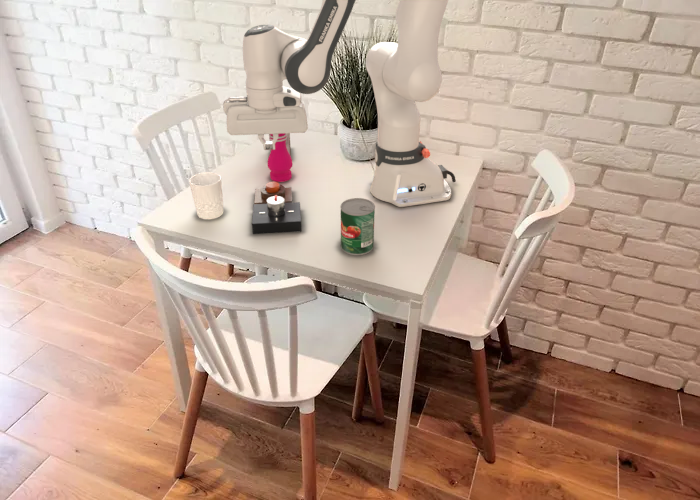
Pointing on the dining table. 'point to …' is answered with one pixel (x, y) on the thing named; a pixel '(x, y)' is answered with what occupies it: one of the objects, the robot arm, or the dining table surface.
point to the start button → (272, 187)
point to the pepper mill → (280, 160)
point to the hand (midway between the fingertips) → (269, 149)
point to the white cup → (207, 194)
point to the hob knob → (276, 206)
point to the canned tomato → (357, 226)
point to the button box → (272, 194)
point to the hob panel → (276, 219)
